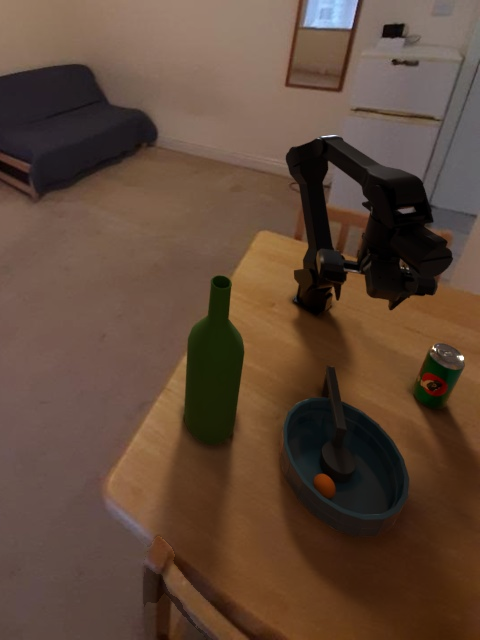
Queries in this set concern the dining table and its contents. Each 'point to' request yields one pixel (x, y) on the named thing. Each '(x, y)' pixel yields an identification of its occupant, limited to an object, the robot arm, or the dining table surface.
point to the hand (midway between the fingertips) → (363, 303)
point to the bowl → (369, 475)
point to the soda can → (438, 375)
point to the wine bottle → (213, 369)
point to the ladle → (336, 435)
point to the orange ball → (324, 485)
